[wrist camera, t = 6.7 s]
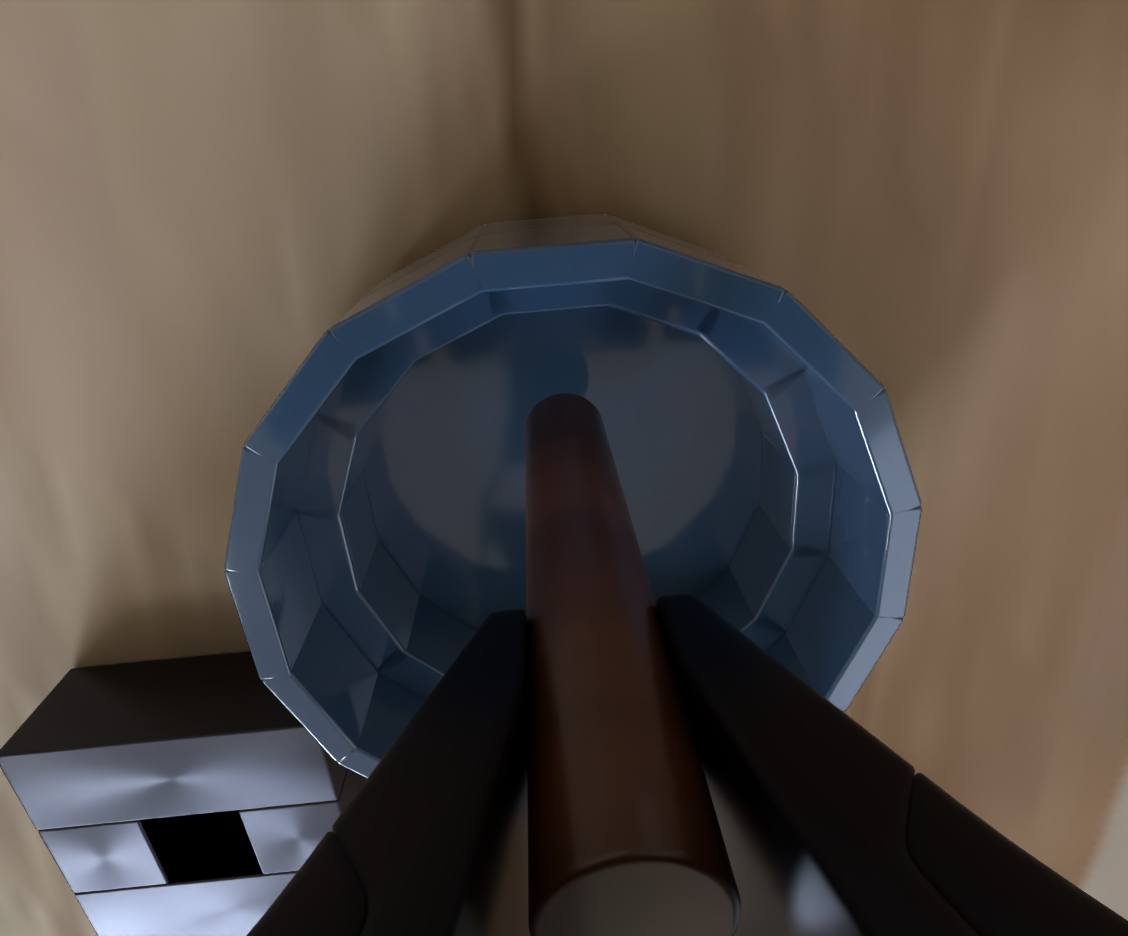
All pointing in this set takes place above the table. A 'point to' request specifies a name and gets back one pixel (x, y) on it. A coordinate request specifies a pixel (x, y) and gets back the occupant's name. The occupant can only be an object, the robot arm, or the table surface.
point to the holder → (174, 793)
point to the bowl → (498, 471)
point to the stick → (606, 713)
